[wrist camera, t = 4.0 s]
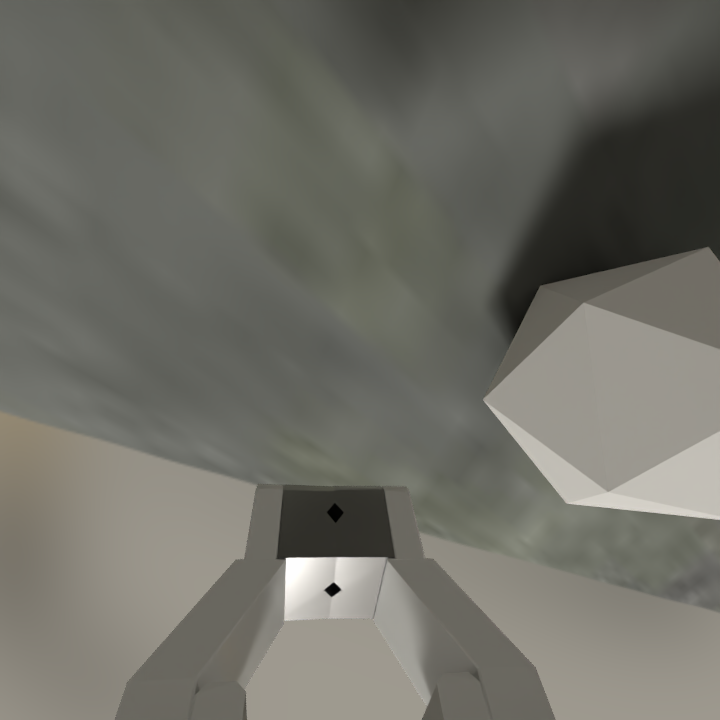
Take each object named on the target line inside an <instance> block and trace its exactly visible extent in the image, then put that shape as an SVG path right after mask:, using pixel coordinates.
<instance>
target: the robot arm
mask: <svg viewBox="0 0 720 720" xmlns="http://www.w3.org/2000/svg"><path fill="white" fill-rule="evenodd" d="M325 618H326V619H328V618H337V619H338V618H340V619H343V618H344V619H374V623H375V625H376V626H377V628H378V629H379V631H380V633H381V634H382V636H383V637H384V639H385V641H386V642H387V644H388V645H389V647H390V649H391V650H392V652H393V653H394V655H395V657H396V658H397V660H398V662H399V663H400V665H401V666H402V668H403V670H404V671H405V673H406V674H407V676H408V677H409V679H410V681H411V682H412V684H413V685H414V687H415V689H416V690H417V692H418V694H419V695H420V697H421V698H422V700H423V702H424V703H425V704H426V706H427V708H426V711H425V713H424V715H423V718H422V720H555V717H554V714H553V712H552V709H551V707H550V704H549V702H548V699H547V696H546V693H545V691H544V688H543V686H542V683H541V681H540V678H539V675H538V673H537V670H536V667H534V665H533V664H532V663H531V662H530V661H529V660H528V659H527V658H526V657H525V656H524V655H523V654H522V653H521V652H520V650H519V649H518V648H517V647H516V646H515V645H514V644H513V643H512V642H511V641H510V640H509V639H508V638H507V637H506V636H505V635H504V634H503V632H501V630H500V629H499V628H498V627H497V626H496V625H495V624H494V623H493V622H492V621H491V620H490V619H489V618H488V617H487V615H486V614H485V613H484V612H483V611H482V610H481V609H480V608H479V607H478V606H477V605H476V604H475V603H474V602H473V601H472V600H471V598H469V597H468V595H467V594H466V593H465V592H464V591H463V590H462V589H461V588H460V587H459V586H458V585H457V584H456V583H455V582H454V580H453V579H451V577H450V576H449V575H448V574H447V573H446V572H445V571H444V570H443V569H442V568H441V567H440V566H439V565H438V563H437V562H436V561H435V560H434V559H428V558H425V555H424V551H423V547H422V542H421V538H420V534H419V530H418V526H417V521H416V517H415V513H414V509H413V505H412V500H411V496H410V492H409V490H408V488H407V487H395V486H382V487H381V486H333V487H332V486H307V485H272V484H258V486H257V488H256V491H255V498H254V503H253V509H252V516H251V522H250V528H249V534H248V540H247V546H246V552H245V558H244V559H240V560H235V561H234V563H233V564H232V565H231V566H230V567H229V568H228V569H227V570H226V572H225V573H224V574H223V575H222V576H221V577H220V578H219V579H218V581H217V582H216V583H215V584H214V585H213V586H212V587H211V588H210V590H209V591H208V592H207V593H206V594H205V595H204V596H203V597H202V599H201V600H200V601H199V602H198V603H197V604H196V605H195V606H194V608H193V609H192V610H191V611H190V612H189V613H188V614H187V616H186V617H185V618H184V619H183V620H182V621H181V622H180V623H179V625H178V626H177V627H176V628H175V629H174V630H173V631H172V633H171V634H170V635H169V636H168V637H167V638H166V639H165V641H163V643H162V644H161V645H160V646H159V647H158V648H157V649H156V650H155V652H154V653H153V654H152V655H151V656H150V657H149V658H148V659H147V661H146V662H145V663H144V664H143V665H142V666H141V667H140V668H139V670H138V671H137V672H136V673H135V674H134V675H133V676H132V678H131V679H130V680H129V681H128V682H127V685H126V688H125V691H124V694H123V697H122V700H121V703H120V706H119V708H118V711H117V715H116V717H115V720H247V710H246V691H245V690H244V689H245V688H246V686H247V684H248V683H249V681H250V679H251V677H252V676H253V674H254V673H255V671H256V669H257V668H258V666H259V664H260V663H261V661H262V659H263V658H264V656H265V654H266V653H267V651H268V649H269V647H270V646H271V644H272V643H273V641H274V639H275V637H276V636H277V634H278V633H279V631H280V629H281V628H282V626H283V624H284V621H287V620H308V619H325Z"/></svg>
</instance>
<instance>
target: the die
mask: <svg viewBox="0 0 720 720" xmlns="http://www.w3.org/2000/svg"><path fill="white" fill-rule="evenodd" d="M483 400H484V402H485V403H486V404H487V405H488V407H489V408H490V409H491V410H492V412H493V413H494V414H495V415H496V416H497V418H498V419H499V420H500V421H501V423H502V424H503V425H504V426H505V428H506V429H507V430H508V431H509V433H510V434H511V435H512V436H513V438H514V439H515V440H516V441H517V442H518V444H519V445H520V446H521V447H522V449H523V450H524V451H525V452H526V454H527V455H528V456H529V457H530V459H531V460H532V461H533V462H534V464H535V465H536V466H537V467H538V468H539V470H540V471H541V472H542V473H543V475H544V476H545V477H546V478H547V480H548V481H549V482H550V483H551V485H552V486H553V487H554V488H555V490H556V491H557V492H558V493H559V494H560V496H561V497H562V498H563V499H564V501H565V502H566V503H568V504H577V505H587V506H596V507H606V508H615V509H625V510H634V511H643V512H653V513H662V514H672V515H681V516H691V517H700V518H709V519H719V520H720V261H719V260H718V259H717V257H716V256H715V255H714V253H713V252H712V251H711V250H710V248H709V247H706V248H701V249H697V250H693V251H688V252H684V253H680V254H675V255H671V256H667V257H662V258H658V259H654V260H649V261H645V262H641V263H636V264H632V265H628V266H623V267H619V268H615V269H610V270H606V271H602V272H597V273H593V274H589V275H584V276H580V277H576V278H571V279H567V280H563V281H558V282H554V283H550V284H545V285H541V286H540V287H539V289H538V291H537V293H536V295H535V297H534V299H533V301H532V303H531V305H530V307H529V309H528V311H527V313H526V315H525V317H524V319H523V321H522V323H521V325H520V327H519V329H518V331H517V333H516V335H515V337H514V339H513V341H512V343H511V345H510V347H509V349H508V351H507V353H506V355H505V357H504V359H503V361H502V363H501V365H500V367H499V369H498V371H497V373H496V375H495V377H494V379H493V381H492V383H491V385H490V387H489V388H488V390H487V392H486V394H485V396H484V398H483Z"/></svg>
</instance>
